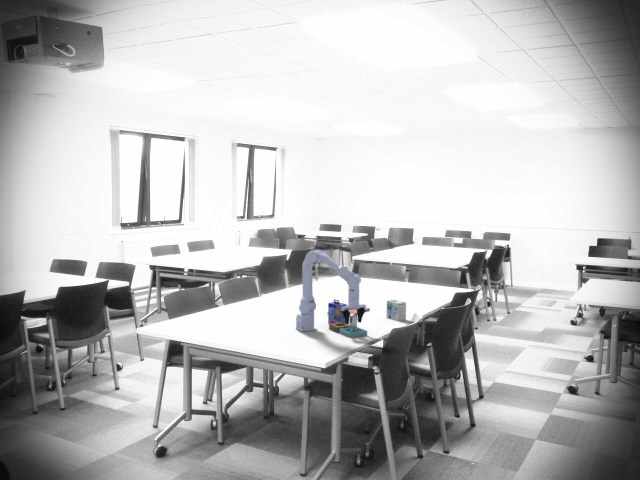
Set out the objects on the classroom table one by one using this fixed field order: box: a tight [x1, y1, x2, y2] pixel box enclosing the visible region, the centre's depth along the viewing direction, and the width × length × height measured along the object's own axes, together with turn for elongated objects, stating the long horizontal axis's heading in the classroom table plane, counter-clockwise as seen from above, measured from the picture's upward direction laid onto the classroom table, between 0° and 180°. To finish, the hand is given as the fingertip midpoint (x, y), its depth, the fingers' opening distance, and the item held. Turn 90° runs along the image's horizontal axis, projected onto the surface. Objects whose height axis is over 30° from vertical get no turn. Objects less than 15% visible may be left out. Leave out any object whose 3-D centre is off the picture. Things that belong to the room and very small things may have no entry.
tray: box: [339, 326, 368, 339], centre depth 299 cm, size 11×11×2 cm
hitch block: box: [328, 322, 349, 334], centre depth 308 cm, size 9×9×3 cm
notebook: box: [327, 307, 371, 318], centre depth 358 cm, size 27×17×2 cm, turn 148°
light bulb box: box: [386, 299, 407, 322], centre depth 338 cm, size 11×7×11 cm, turn 33°
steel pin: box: [349, 314, 358, 333], centre depth 299 cm, size 4×4×10 cm
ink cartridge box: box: [327, 299, 348, 325], centre depth 322 cm, size 10×6×14 cm, turn 51°
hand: (353, 322), depth 299 cm, fingers open, 7 cm apart
